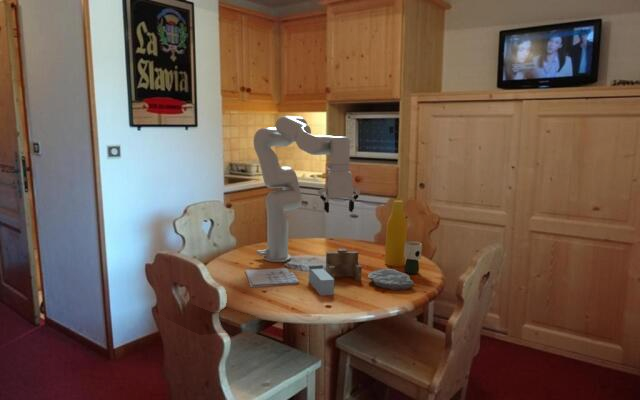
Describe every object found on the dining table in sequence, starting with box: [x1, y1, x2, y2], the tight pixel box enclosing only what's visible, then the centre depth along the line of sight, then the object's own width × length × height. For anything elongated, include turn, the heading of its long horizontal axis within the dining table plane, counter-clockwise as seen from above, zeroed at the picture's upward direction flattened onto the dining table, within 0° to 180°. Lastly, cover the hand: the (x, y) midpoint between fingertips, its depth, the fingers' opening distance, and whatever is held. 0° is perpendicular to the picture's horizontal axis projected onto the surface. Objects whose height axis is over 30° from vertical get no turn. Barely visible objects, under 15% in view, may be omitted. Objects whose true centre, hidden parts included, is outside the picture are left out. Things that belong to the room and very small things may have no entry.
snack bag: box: [244, 267, 300, 288], centre depth 191 cm, size 19×20×2 cm
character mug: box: [403, 241, 423, 275], centre depth 201 cm, size 11×7×13 cm, turn 145°
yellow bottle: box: [384, 199, 408, 268], centre depth 212 cm, size 9×9×29 cm
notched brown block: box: [325, 248, 363, 282], centre depth 192 cm, size 13×9×11 cm, turn 100°
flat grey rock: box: [367, 268, 415, 291], centre depth 188 cm, size 20×17×3 cm
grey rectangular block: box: [308, 263, 335, 296], centre depth 181 cm, size 5×16×7 cm, turn 17°
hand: (339, 211), depth 187 cm, fingers open, 9 cm apart
